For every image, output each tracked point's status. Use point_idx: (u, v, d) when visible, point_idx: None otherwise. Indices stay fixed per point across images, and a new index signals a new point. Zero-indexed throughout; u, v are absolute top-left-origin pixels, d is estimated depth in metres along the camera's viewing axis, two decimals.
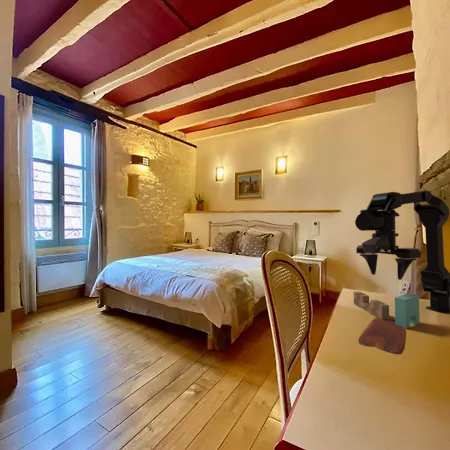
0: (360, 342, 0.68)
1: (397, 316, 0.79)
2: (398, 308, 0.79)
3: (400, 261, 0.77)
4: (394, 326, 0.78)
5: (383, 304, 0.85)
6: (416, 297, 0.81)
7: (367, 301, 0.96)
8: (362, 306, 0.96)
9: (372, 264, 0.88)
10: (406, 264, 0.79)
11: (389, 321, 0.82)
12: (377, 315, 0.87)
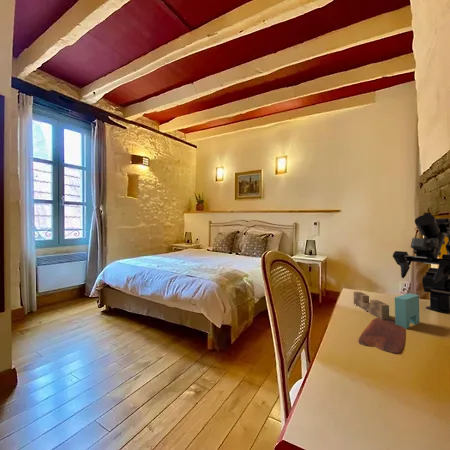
0: (360, 342, 0.68)
1: (397, 316, 0.79)
2: (398, 308, 0.79)
3: (444, 263, 0.80)
4: (394, 326, 0.78)
5: (383, 304, 0.85)
6: (416, 297, 0.81)
7: (367, 301, 0.96)
8: (362, 306, 0.96)
9: (405, 269, 0.90)
10: (445, 273, 0.82)
11: (389, 321, 0.82)
12: (377, 315, 0.87)
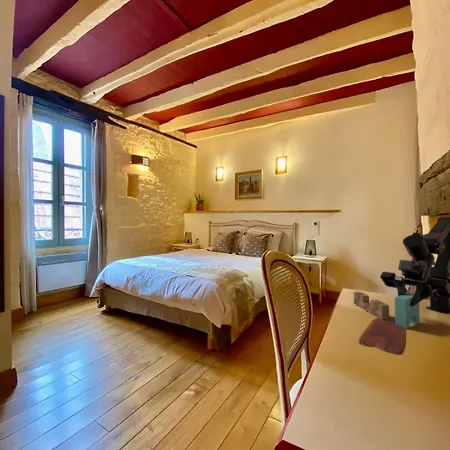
0: (361, 342, 0.68)
1: (397, 316, 0.79)
2: (398, 308, 0.79)
3: (421, 287, 0.78)
4: (394, 326, 0.78)
5: (383, 304, 0.85)
6: None
7: (367, 301, 0.96)
8: (362, 306, 0.96)
9: (402, 293, 0.83)
10: (422, 296, 0.79)
11: (389, 321, 0.82)
12: (377, 315, 0.87)
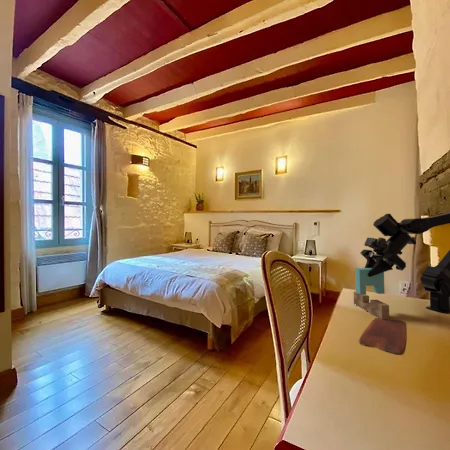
0: (361, 342, 0.67)
1: (356, 284, 0.94)
2: (356, 277, 0.94)
3: (378, 260, 0.90)
4: (394, 326, 0.78)
5: (383, 304, 0.85)
6: None
7: (367, 301, 0.96)
8: (362, 306, 0.96)
9: (369, 266, 0.95)
10: (382, 269, 0.90)
11: (389, 321, 0.82)
12: (377, 315, 0.87)
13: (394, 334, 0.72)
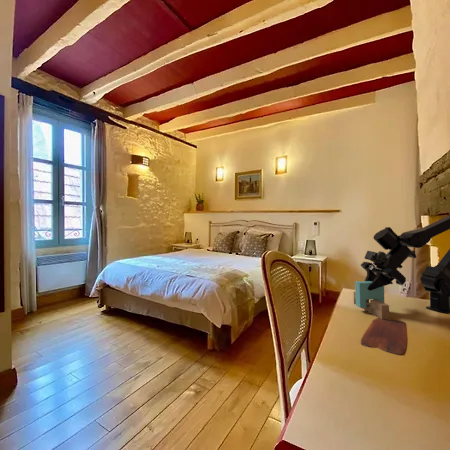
0: (363, 343, 0.67)
1: (356, 297, 0.94)
2: (356, 290, 0.94)
3: (378, 274, 0.90)
4: (395, 326, 0.77)
5: (383, 304, 0.85)
6: None
7: (367, 301, 0.96)
8: None
9: (369, 280, 0.95)
10: (382, 282, 0.90)
11: (390, 321, 0.82)
12: (377, 315, 0.87)
13: (395, 334, 0.71)
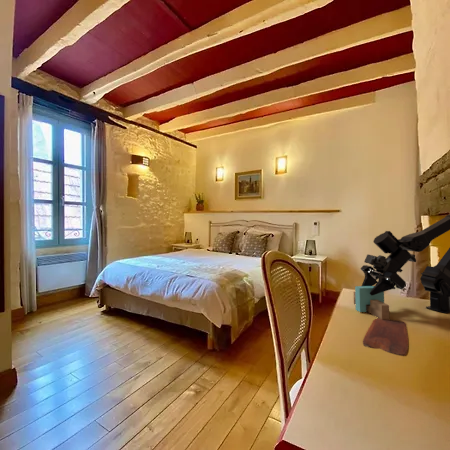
0: (365, 344, 0.67)
1: (356, 302, 0.94)
2: (356, 295, 0.94)
3: (381, 279, 0.88)
4: (396, 327, 0.77)
5: (383, 304, 0.85)
6: None
7: None
8: None
9: (366, 282, 0.97)
10: (384, 287, 0.89)
11: (390, 322, 0.82)
12: (377, 315, 0.87)
13: (396, 335, 0.71)
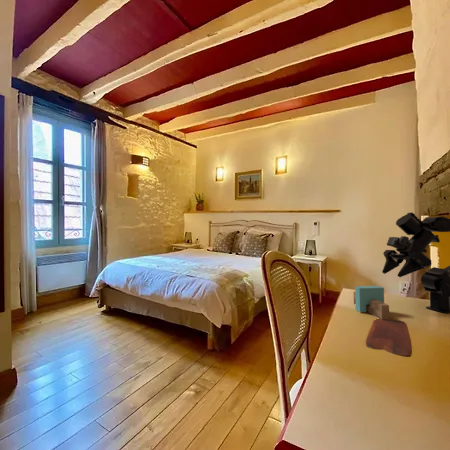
0: (368, 345, 0.66)
1: (356, 302, 0.94)
2: (356, 295, 0.94)
3: (408, 259, 0.87)
4: (397, 327, 0.77)
5: (383, 304, 0.85)
6: (379, 289, 0.92)
7: None
8: None
9: (388, 265, 0.98)
10: (412, 268, 0.87)
11: (390, 322, 0.82)
12: (377, 315, 0.87)
13: (398, 335, 0.71)
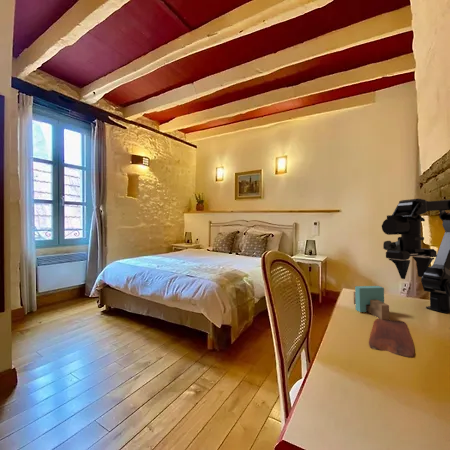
0: (371, 346, 0.65)
1: (356, 302, 0.94)
2: (356, 295, 0.94)
3: None
4: (398, 327, 0.77)
5: (383, 304, 0.85)
6: (379, 289, 0.92)
7: None
8: None
9: (419, 266, 0.92)
10: (403, 265, 0.87)
11: (391, 322, 0.81)
12: (377, 315, 0.87)
13: (400, 336, 0.71)
